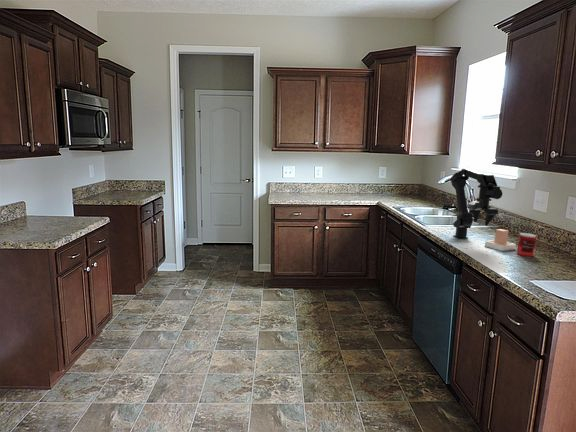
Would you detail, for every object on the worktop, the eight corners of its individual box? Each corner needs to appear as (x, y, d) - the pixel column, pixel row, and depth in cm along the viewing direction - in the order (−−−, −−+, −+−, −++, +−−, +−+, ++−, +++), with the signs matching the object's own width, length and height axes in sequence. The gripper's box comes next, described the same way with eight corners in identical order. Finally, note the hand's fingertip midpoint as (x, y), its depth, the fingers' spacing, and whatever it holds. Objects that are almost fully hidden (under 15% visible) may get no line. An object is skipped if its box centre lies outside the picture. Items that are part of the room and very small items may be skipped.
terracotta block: (493, 246, 235) (496, 229, 233) (498, 245, 237) (500, 229, 235) (501, 248, 231) (503, 231, 229) (506, 247, 233) (508, 230, 232)
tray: (484, 246, 236) (485, 241, 235) (496, 244, 242) (497, 239, 241) (503, 251, 227) (504, 245, 226) (514, 249, 232) (515, 244, 232)
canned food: (524, 252, 227) (527, 232, 225) (536, 256, 219) (540, 236, 217) (513, 253, 224) (516, 233, 222) (525, 257, 217) (528, 236, 215)
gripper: (461, 193, 242) (458, 220, 245) (483, 198, 224) (479, 227, 227) (478, 194, 244) (474, 220, 247) (500, 199, 227) (496, 227, 230)
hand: (480, 223), depth 238 cm, fingers open, 9 cm apart
